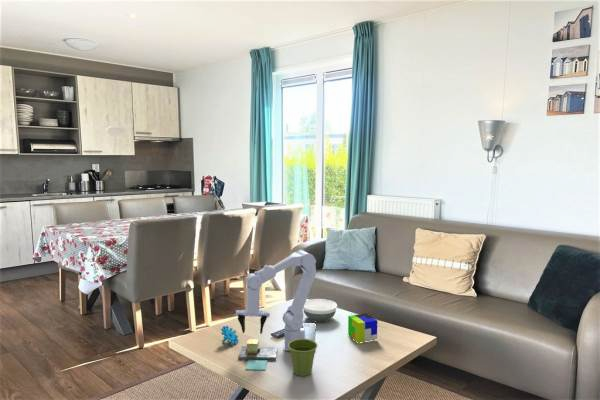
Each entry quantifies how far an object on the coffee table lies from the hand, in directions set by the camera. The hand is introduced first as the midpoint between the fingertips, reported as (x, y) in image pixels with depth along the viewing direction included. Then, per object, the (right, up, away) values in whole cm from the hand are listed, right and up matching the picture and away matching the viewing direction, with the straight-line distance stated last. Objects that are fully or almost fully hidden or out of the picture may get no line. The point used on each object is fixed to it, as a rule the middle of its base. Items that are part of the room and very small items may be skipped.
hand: (252, 332), depth 181 cm
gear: (-12, -9, +13) cm, 20 cm away
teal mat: (+3, -11, -9) cm, 14 cm away
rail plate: (+3, -10, +1) cm, 10 cm away
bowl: (+31, -7, +42) cm, 53 cm away
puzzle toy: (+51, -9, +19) cm, 54 cm away
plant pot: (+22, -12, -14) cm, 28 cm away
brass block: (0, -10, +1) cm, 10 cm away
